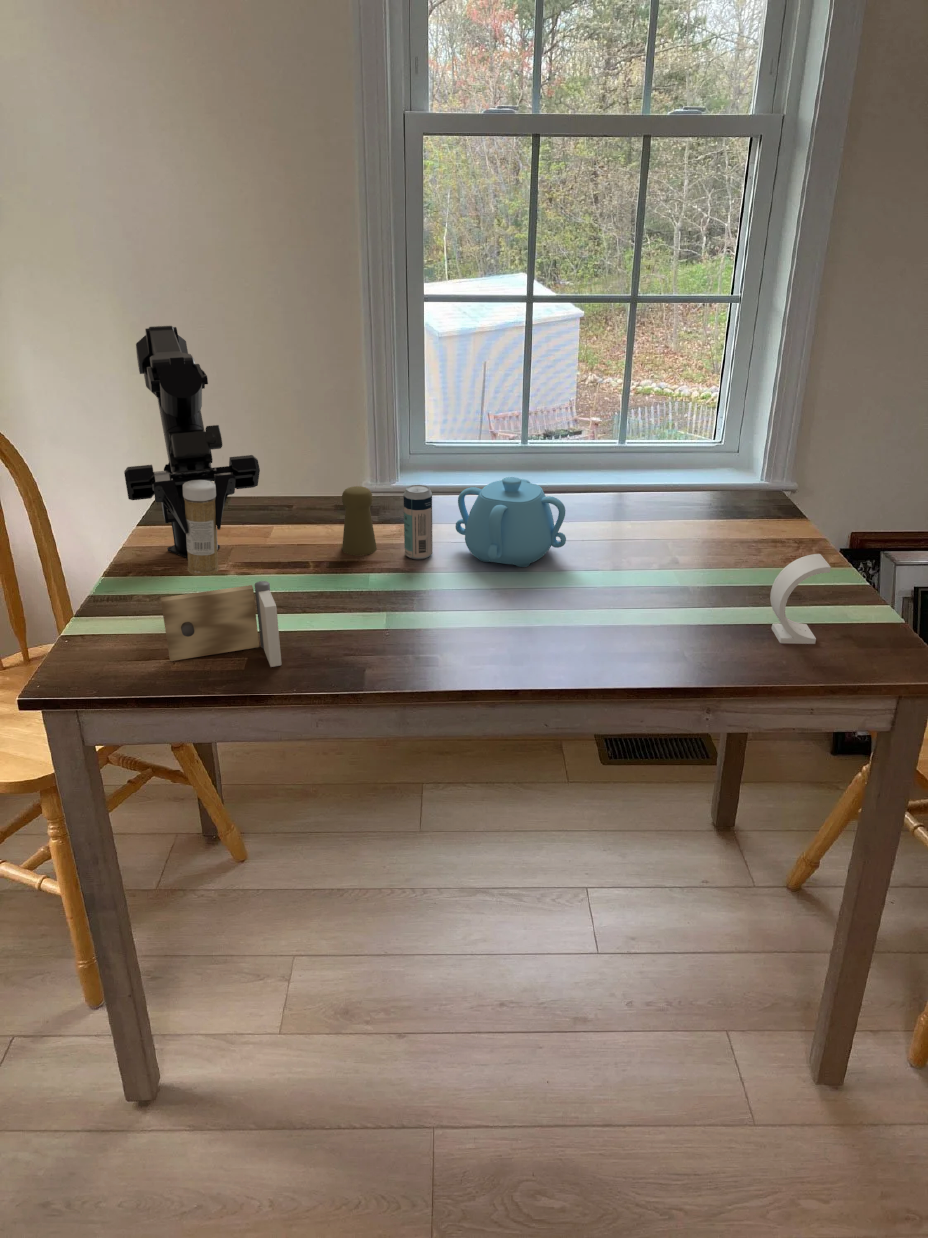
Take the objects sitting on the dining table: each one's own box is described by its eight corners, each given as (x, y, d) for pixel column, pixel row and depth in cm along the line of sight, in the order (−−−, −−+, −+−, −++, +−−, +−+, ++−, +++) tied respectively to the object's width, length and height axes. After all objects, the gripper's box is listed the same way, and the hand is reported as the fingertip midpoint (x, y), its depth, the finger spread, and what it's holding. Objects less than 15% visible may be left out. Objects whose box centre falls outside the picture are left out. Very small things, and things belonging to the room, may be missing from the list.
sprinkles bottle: (222, 566, 142) (219, 480, 136) (214, 578, 137) (210, 489, 132) (192, 563, 142) (187, 477, 136) (182, 575, 137) (178, 486, 132)
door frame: (259, 643, 133) (253, 582, 129) (273, 641, 134) (268, 580, 129) (268, 667, 127) (262, 604, 123) (283, 664, 128) (277, 601, 123)
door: (257, 643, 133) (251, 585, 128) (260, 650, 131) (254, 592, 126) (169, 657, 129) (160, 597, 125) (171, 665, 127) (161, 605, 123)
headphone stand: (815, 643, 135) (831, 567, 129) (772, 643, 135) (786, 566, 129) (805, 628, 139) (820, 553, 133) (764, 628, 139) (777, 553, 133)
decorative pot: (572, 567, 158) (577, 490, 152) (482, 579, 153) (484, 499, 147) (534, 532, 172) (537, 460, 166) (450, 542, 167) (451, 468, 161)
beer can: (437, 552, 163) (437, 486, 157) (424, 562, 159) (424, 495, 153) (412, 548, 164) (411, 482, 159) (399, 557, 161) (398, 490, 155)
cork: (374, 555, 161) (372, 494, 156) (339, 555, 161) (336, 494, 156) (378, 542, 167) (376, 482, 162) (344, 541, 167) (341, 482, 162)
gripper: (114, 411, 129) (131, 514, 125) (251, 400, 135) (271, 499, 131) (120, 450, 139) (136, 547, 135) (247, 438, 145) (266, 531, 141)
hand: (202, 530), depth 136 cm, fingers closed on sprinkles bottle, 4 cm apart
